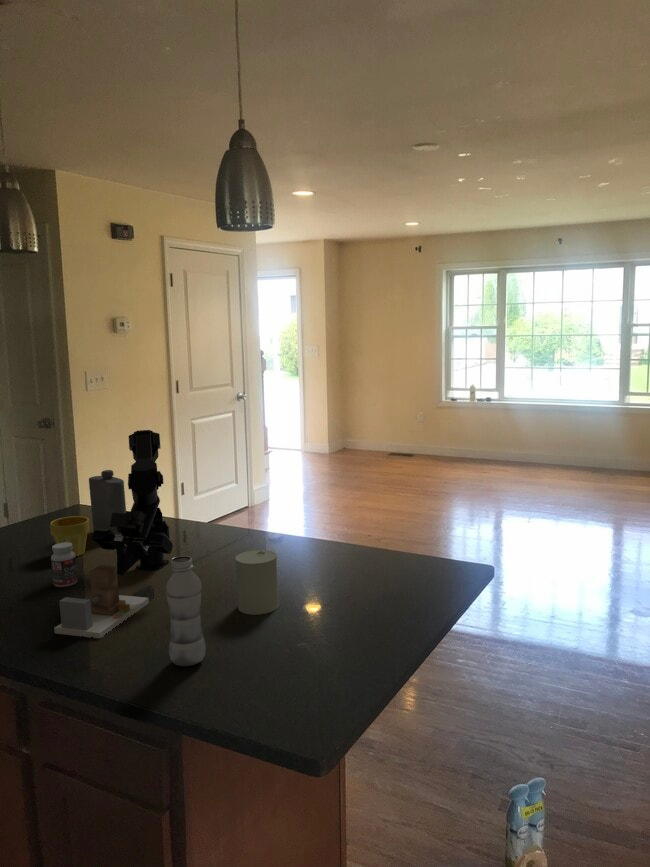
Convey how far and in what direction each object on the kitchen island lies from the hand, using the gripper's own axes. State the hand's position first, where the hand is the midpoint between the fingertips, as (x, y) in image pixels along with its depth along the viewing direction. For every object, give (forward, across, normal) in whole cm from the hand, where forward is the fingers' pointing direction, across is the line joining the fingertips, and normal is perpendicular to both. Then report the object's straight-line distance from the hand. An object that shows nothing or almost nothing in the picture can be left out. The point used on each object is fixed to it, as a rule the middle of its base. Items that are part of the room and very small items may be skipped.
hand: (119, 575), depth 153 cm
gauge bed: (+10, 0, 0) cm, 10 cm away
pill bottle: (-1, -22, +11) cm, 25 cm away
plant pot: (-15, -35, +26) cm, 46 cm away
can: (+1, +31, +9) cm, 32 cm away
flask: (-28, -35, +39) cm, 60 cm away
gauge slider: (+9, +1, -1) cm, 9 cm away
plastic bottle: (+20, +28, -10) cm, 36 cm away
